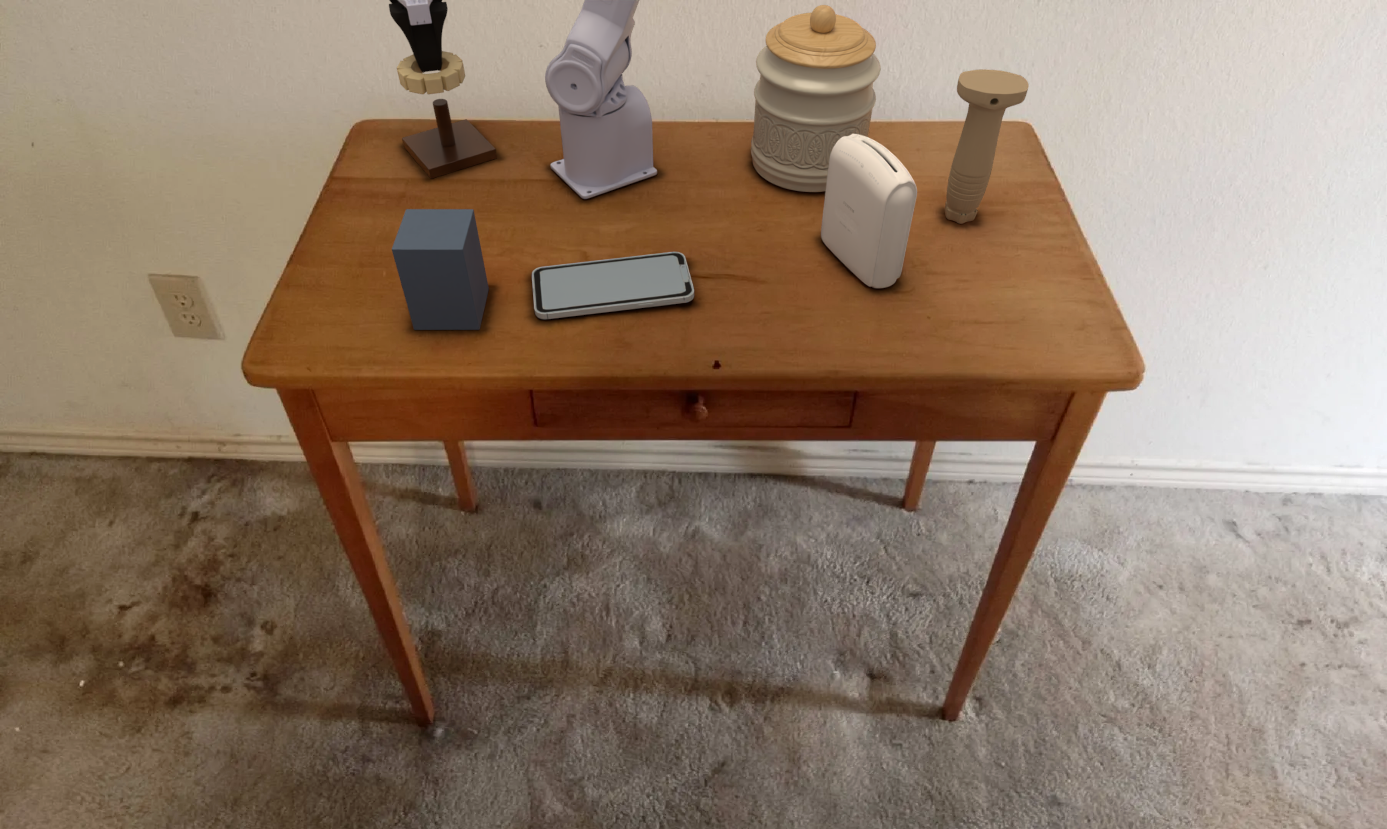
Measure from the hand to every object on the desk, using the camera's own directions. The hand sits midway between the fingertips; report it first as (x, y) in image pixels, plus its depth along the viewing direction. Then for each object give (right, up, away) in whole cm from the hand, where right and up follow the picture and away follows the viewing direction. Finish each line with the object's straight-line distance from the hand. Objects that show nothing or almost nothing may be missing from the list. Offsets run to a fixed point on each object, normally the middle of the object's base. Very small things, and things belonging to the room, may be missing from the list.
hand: (430, 64), depth 98 cm
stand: (0, -7, +7) cm, 10 cm away
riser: (+6, -27, -12) cm, 31 cm away
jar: (+41, -9, +6) cm, 42 cm away
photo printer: (+45, -22, -6) cm, 50 cm away
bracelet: (+1, -2, -1) cm, 2 cm away
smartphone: (+20, -25, -10) cm, 34 cm away
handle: (+56, -17, -1) cm, 59 cm away
